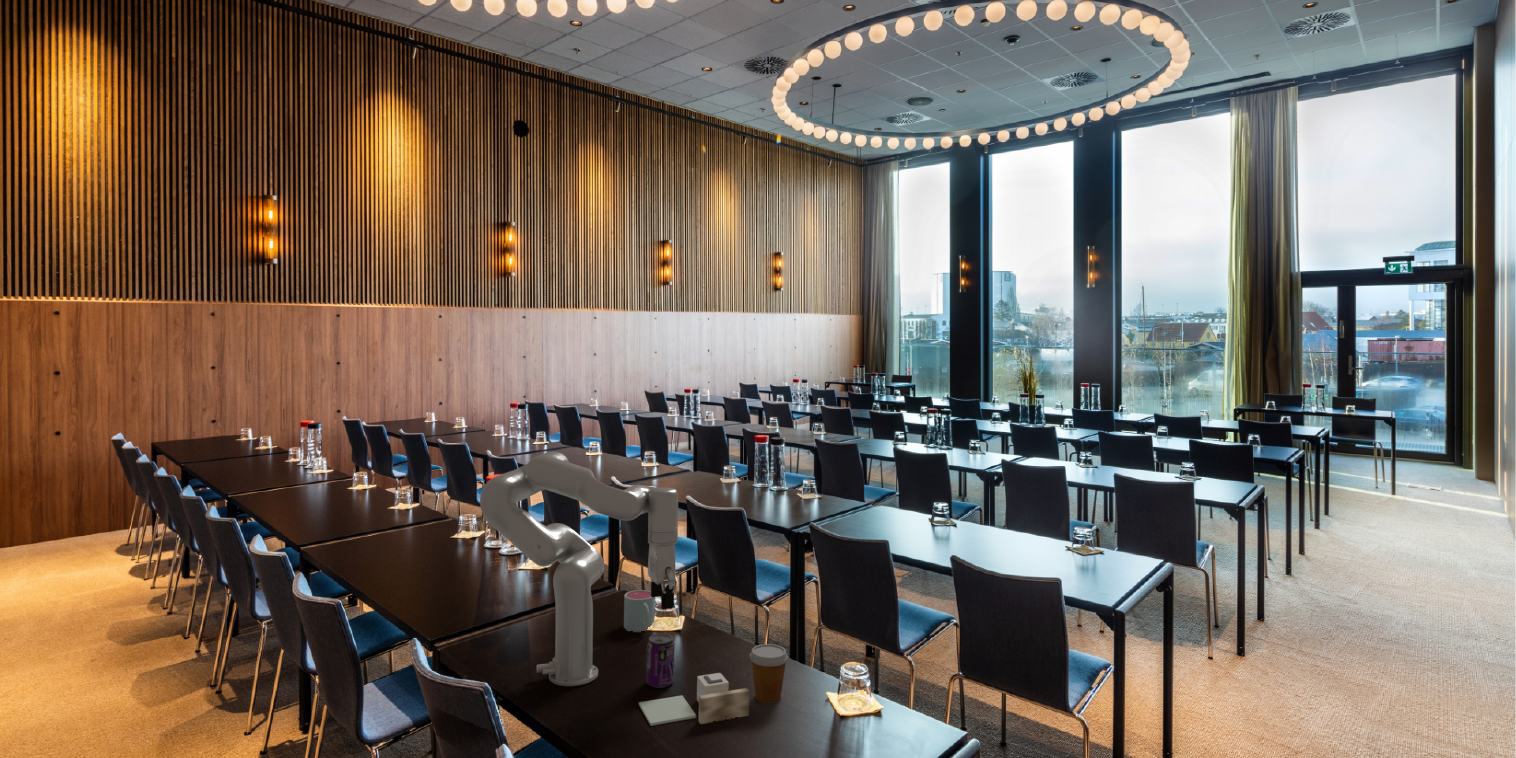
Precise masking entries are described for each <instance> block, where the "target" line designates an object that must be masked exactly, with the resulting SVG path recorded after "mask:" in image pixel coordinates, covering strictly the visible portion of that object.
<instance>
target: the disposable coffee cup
mask: <svg viewBox="0 0 1516 758" xmlns="http://www.w3.org/2000/svg"><path fill="white" fill-rule="evenodd" d="M787 653H788V652H787V650H786V648H784V647H783V646H782V645H781V646H780V645H778V644H769V643H767V644H766V643H763V644H759V645H755V646H754V647H753V648H752V649H751V652H750V653H749V657H750V660H751V668H752V678H753V687H754V688H753V689H754V697H755V700H756V701H757V702H759V703H761V702H763V703H762V704H768V703H770V704H774V703H773V702H776V703H778V702H780V700H781V697H782V690H783V683H784V677H785V669H786V663H787V661H788V658H789V656H788V654H787Z"/></svg>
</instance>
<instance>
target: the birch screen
mask: <svg viewBox="0 0 1516 758" xmlns="http://www.w3.org/2000/svg"><path fill="white" fill-rule="evenodd" d="M749 709H750V690H749V689H748V687H744V688H739V689H733V690H729V691H725V692H719V693H713V694H707V695H701V696H699V702H698V722H699V724H700V725H703V724H710V723H714V722H713V721H716V722H720V721H726V720H725V719H727V720H732V719H736V718H735V717H738V718H742V717H748V716H749V715H750V711H749ZM731 718H732V719H731ZM709 722H710V723H709Z"/></svg>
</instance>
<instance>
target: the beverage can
mask: <svg viewBox="0 0 1516 758" xmlns="http://www.w3.org/2000/svg"><path fill="white" fill-rule="evenodd" d="M645 672H646V673H645V675H646V676H645V677H646V680H645V682H646V684H647V685H649V686H651V687H653V688H656V689H664V688H667V687H669V686H671V685H672V684H674V681H675V643H674V637H673V635H671V634H667V633H655V634H653V635H650V636H649V638H648V642H647V643H646V670H645Z"/></svg>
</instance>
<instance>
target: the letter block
mask: <svg viewBox="0 0 1516 758" xmlns="http://www.w3.org/2000/svg"><path fill="white" fill-rule="evenodd" d="M696 678H697V679H696V681H697V683H696V701H697V703H699V696H701V695H707V694H713V693H719V692H725V691H730V690H729V689H730V688H729V686H730V685H729V683H730V682H729V681H728V680H727V679H726V678H725V676H724V675H723V674H722V673H721V672H716V673H709V674H703V675H698V676H697V677H696Z"/></svg>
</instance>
